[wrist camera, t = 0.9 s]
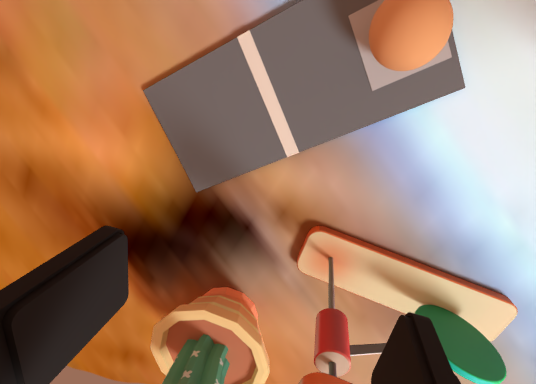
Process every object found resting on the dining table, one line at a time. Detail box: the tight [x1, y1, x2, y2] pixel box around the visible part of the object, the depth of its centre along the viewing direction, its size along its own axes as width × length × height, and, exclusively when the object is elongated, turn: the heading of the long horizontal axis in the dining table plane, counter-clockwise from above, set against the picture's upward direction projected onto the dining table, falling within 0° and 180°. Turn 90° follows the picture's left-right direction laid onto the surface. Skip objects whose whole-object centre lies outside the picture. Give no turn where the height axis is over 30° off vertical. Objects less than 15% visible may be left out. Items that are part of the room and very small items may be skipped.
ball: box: [369, 0, 453, 71], centre depth 23 cm, size 6×6×6 cm
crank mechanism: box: [297, 226, 518, 384], centre depth 26 cm, size 25×7×19 cm, turn 72°
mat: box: [143, 0, 465, 192], centre depth 29 cm, size 30×13×1 cm, turn 114°
